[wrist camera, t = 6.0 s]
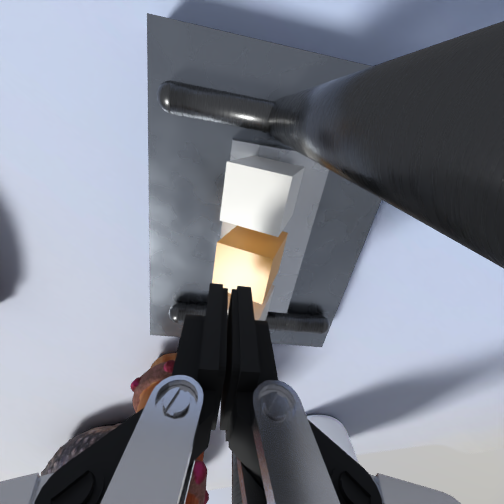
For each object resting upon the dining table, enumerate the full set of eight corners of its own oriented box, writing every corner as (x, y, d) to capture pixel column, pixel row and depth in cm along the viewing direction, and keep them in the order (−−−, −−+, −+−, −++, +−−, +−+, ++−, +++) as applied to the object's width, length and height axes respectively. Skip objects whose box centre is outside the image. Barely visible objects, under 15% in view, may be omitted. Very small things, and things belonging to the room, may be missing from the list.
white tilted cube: (304, 166, 14) (292, 176, 11) (292, 214, 16) (278, 237, 12) (253, 155, 15) (226, 161, 11) (246, 202, 16) (219, 220, 13)
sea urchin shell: (22, 430, 31) (-39, 547, 23) (177, 380, 34) (176, 467, 25) (91, 499, 40) (66, 604, 31) (211, 454, 43) (219, 539, 34)
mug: (136, 338, 26) (38, 565, 13) (216, 336, 27) (202, 550, 14) (156, 422, 33) (106, 627, 20) (221, 419, 34) (214, 615, 20)
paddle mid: (288, 232, 16) (272, 259, 13) (278, 270, 17) (262, 304, 14) (243, 220, 17) (216, 242, 13) (236, 257, 18) (211, 287, 15)
